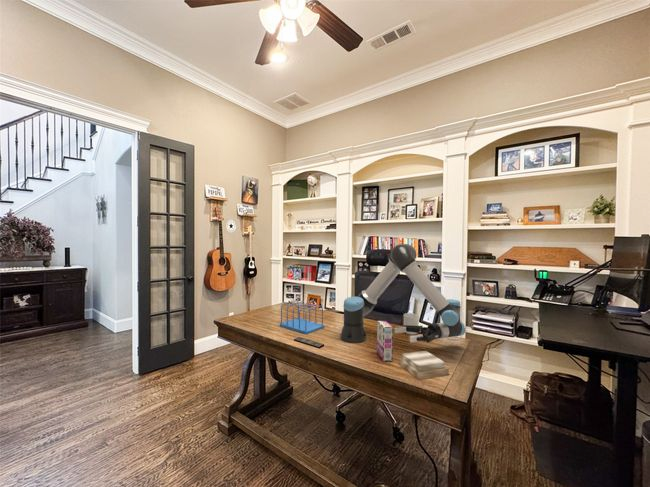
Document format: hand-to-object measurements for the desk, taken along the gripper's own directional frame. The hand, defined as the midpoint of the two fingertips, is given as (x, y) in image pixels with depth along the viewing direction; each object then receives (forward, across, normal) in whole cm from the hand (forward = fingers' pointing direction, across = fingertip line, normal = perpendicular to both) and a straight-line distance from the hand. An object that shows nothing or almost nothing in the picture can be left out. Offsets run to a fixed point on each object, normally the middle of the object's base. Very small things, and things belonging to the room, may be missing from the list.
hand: (402, 334), depth 138 cm
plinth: (0, -16, -10) cm, 19 cm away
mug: (-25, +28, -10) cm, 39 cm away
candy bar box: (+10, 0, -10) cm, 14 cm away
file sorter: (+40, +58, -10) cm, 71 cm away
